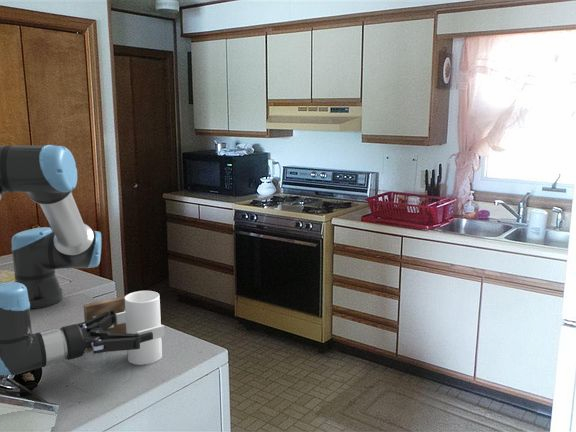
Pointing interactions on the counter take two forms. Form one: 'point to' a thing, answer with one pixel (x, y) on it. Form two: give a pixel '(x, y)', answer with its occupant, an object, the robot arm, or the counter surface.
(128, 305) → the cup
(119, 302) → the label board
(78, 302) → the counter surface
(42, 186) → the robot arm
